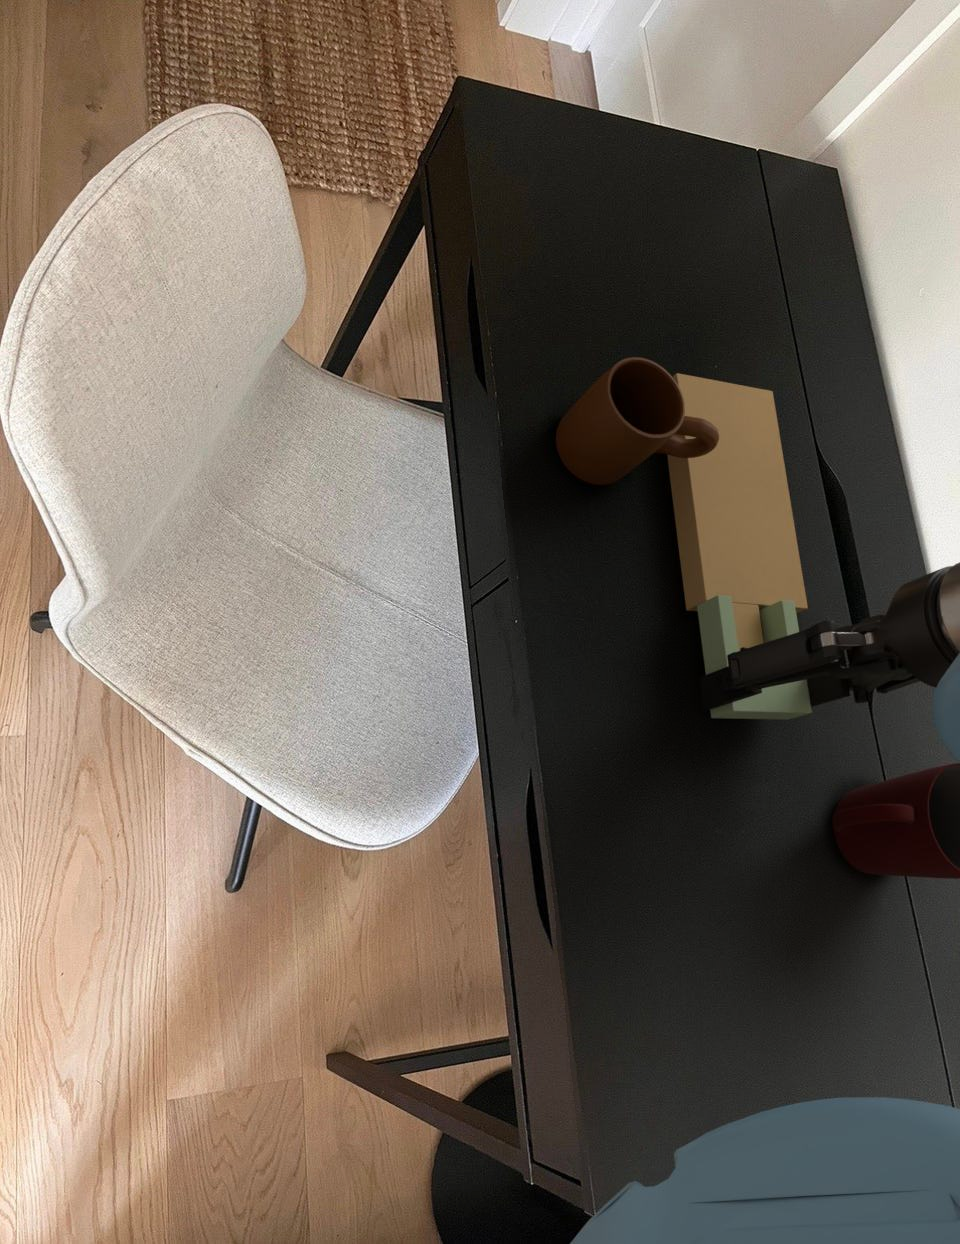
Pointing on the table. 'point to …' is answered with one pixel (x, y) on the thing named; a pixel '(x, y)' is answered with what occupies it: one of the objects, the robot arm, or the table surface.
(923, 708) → the table surface
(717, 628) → the green block
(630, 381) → the mug
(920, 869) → the mug
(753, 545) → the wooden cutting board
